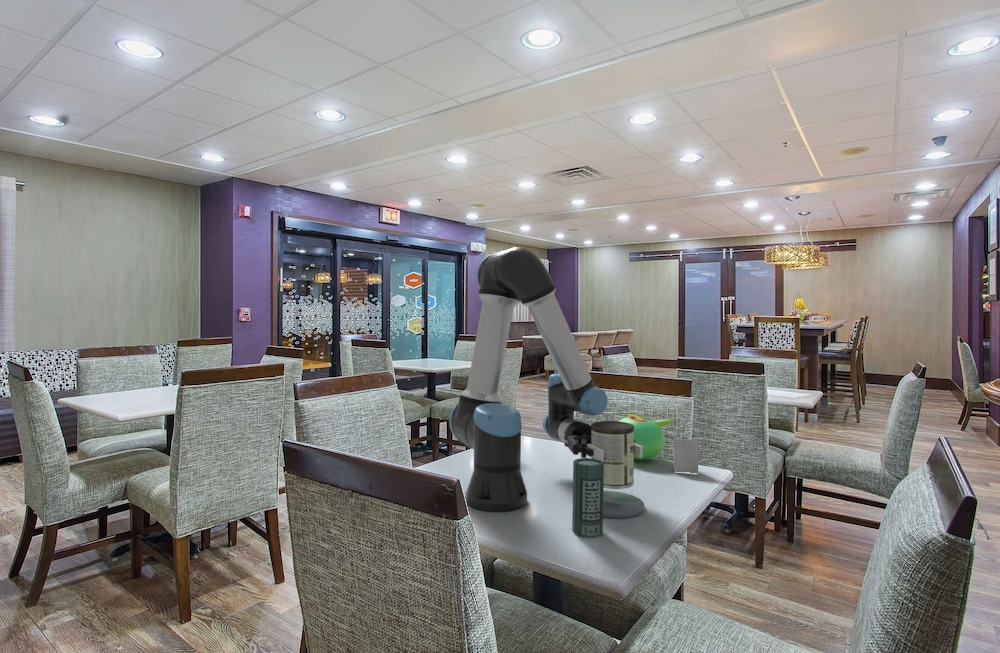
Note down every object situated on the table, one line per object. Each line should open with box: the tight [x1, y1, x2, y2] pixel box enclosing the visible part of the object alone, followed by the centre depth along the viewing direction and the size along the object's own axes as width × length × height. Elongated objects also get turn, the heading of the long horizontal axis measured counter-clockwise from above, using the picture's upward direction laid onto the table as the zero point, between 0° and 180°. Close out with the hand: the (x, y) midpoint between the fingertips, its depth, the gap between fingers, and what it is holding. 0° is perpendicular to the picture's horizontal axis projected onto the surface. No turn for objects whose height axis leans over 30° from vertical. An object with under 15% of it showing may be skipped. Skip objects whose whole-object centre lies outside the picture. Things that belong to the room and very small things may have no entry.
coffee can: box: [590, 420, 635, 490], centre depth 130 cm, size 10×10×14 cm
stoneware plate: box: [603, 490, 645, 520], centre depth 130 cm, size 16×16×1 cm
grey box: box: [672, 438, 699, 474], centre depth 159 cm, size 4×7×10 cm, turn 75°
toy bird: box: [618, 413, 674, 461], centre depth 175 cm, size 18×17×15 cm
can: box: [571, 457, 604, 539], centre depth 114 cm, size 6×6×15 cm
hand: (622, 454), depth 126 cm, fingers closed on coffee can, 10 cm apart
